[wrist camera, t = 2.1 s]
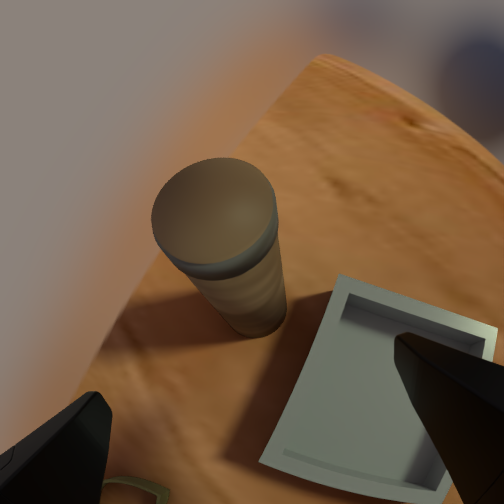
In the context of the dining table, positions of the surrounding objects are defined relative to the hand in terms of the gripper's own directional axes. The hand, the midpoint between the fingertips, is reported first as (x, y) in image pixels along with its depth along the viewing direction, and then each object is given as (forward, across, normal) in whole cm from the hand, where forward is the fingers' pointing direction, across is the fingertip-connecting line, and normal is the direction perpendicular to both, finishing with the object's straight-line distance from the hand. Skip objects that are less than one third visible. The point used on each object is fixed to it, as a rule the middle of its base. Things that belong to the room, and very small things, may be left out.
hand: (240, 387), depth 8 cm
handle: (+13, 0, +4) cm, 14 cm away
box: (+7, -7, +10) cm, 14 cm away
